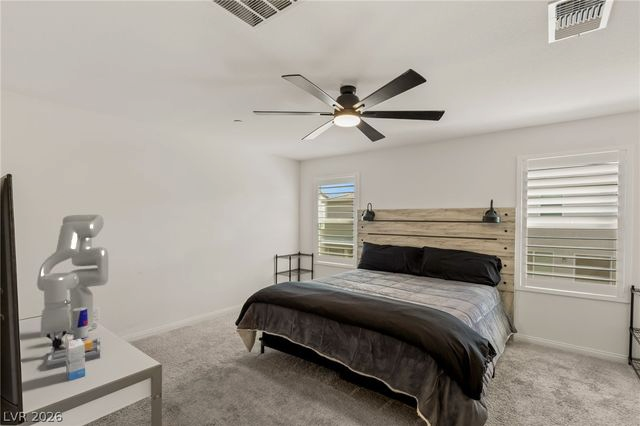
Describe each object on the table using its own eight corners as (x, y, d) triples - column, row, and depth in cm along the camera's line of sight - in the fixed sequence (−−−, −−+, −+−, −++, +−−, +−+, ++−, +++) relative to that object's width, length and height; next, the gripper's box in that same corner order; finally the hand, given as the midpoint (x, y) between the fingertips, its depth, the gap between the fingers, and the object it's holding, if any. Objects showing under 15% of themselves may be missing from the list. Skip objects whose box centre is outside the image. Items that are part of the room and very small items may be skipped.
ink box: (85, 376, 117) (84, 336, 117) (69, 381, 114) (67, 340, 114) (82, 368, 123) (81, 330, 123) (65, 373, 120) (64, 334, 120)
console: (52, 352, 139) (52, 345, 139) (100, 342, 148) (99, 336, 148) (46, 370, 122) (46, 362, 122) (100, 358, 132) (99, 350, 132)
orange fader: (84, 350, 135) (84, 340, 135) (92, 348, 136) (92, 339, 136) (84, 353, 131) (83, 344, 131) (92, 351, 133) (92, 342, 133)
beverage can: (80, 342, 149) (79, 310, 149) (70, 341, 150) (69, 310, 150) (91, 337, 155) (90, 307, 154) (81, 337, 156) (80, 306, 156)
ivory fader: (64, 346, 139) (64, 337, 139) (72, 345, 140) (72, 336, 140) (63, 350, 135) (63, 340, 135) (72, 348, 137) (71, 339, 137)
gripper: (78, 300, 143) (79, 340, 143) (34, 306, 135) (35, 349, 135) (77, 304, 137) (78, 346, 137) (30, 310, 128) (32, 356, 128)
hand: (57, 348), depth 136 cm, fingers closed
